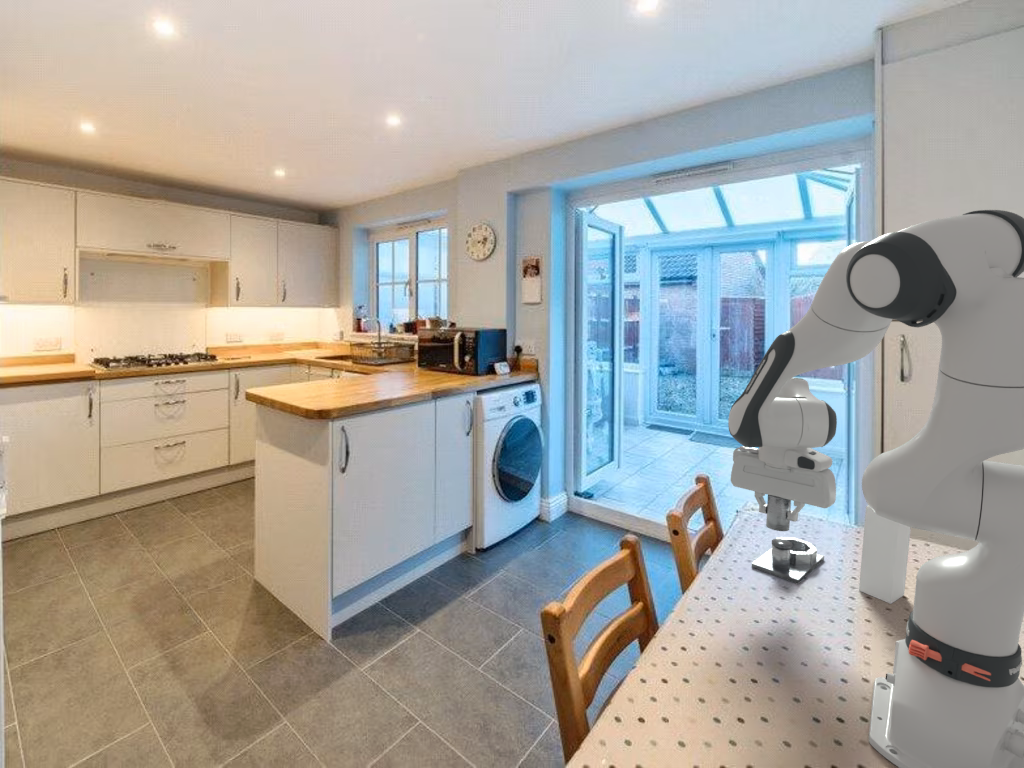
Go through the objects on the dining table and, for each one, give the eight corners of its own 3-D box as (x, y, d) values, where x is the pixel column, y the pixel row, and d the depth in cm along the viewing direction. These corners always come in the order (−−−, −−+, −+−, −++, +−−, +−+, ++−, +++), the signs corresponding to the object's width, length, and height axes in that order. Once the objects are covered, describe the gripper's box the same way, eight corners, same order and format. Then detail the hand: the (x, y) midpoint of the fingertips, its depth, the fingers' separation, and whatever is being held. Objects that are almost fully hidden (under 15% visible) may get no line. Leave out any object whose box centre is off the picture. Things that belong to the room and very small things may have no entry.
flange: (797, 583, 109) (799, 555, 108) (751, 566, 117) (753, 540, 116) (823, 559, 119) (825, 533, 118) (779, 545, 127) (781, 520, 126)
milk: (858, 591, 106) (865, 491, 103) (872, 582, 109) (879, 485, 106) (891, 604, 101) (900, 500, 98) (905, 595, 104) (914, 494, 101)
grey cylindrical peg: (784, 533, 104) (786, 500, 103) (762, 526, 107) (764, 495, 107) (792, 527, 107) (794, 496, 106) (771, 521, 110) (773, 491, 109)
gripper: (727, 446, 111) (723, 506, 113) (830, 465, 96) (824, 534, 97) (740, 442, 115) (737, 500, 117) (841, 460, 100) (836, 527, 101)
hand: (777, 516), depth 107 cm, fingers closed on grey cylindrical peg, 4 cm apart
